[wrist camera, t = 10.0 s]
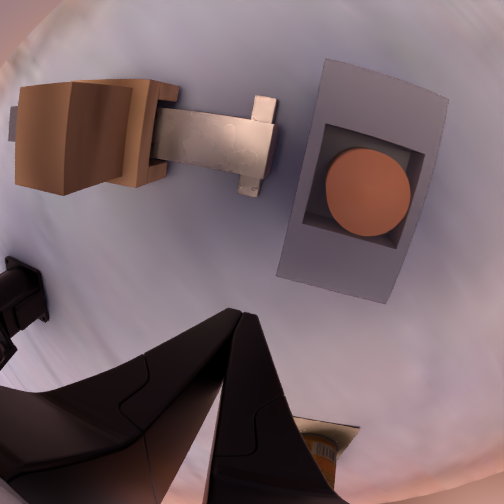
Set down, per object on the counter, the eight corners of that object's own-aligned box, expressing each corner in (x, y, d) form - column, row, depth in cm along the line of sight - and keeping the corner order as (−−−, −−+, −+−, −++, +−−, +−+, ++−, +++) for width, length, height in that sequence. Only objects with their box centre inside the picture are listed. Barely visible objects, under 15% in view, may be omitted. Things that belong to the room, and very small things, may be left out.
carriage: (96, 164, 20) (6, 190, 13) (105, 84, 18) (11, 79, 10) (165, 177, 20) (78, 210, 12) (179, 86, 17) (91, 68, 9)
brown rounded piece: (317, 204, 14) (316, 223, 11) (334, 138, 12) (337, 140, 10) (381, 222, 13) (395, 245, 10) (399, 158, 12) (420, 166, 9)
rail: (27, 153, 22) (7, 158, 20) (33, 89, 19) (12, 89, 17) (265, 196, 19) (257, 206, 17) (284, 101, 17) (279, 97, 14)
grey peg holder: (291, 226, 20) (275, 276, 13) (323, 85, 16) (325, 58, 10) (366, 247, 19) (385, 304, 13) (404, 109, 15) (449, 99, 9)
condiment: (270, 455, 30) (246, 546, 19) (287, 414, 26) (263, 528, 15) (331, 465, 29) (321, 555, 18) (360, 426, 25) (358, 536, 14)
